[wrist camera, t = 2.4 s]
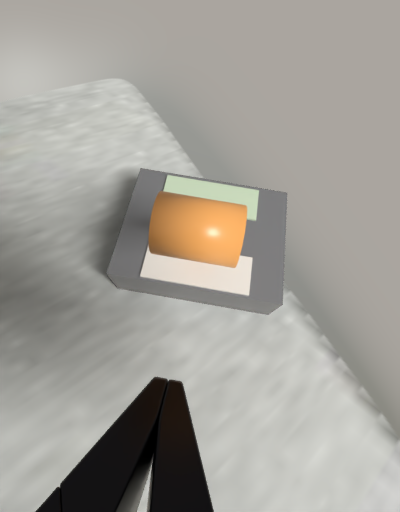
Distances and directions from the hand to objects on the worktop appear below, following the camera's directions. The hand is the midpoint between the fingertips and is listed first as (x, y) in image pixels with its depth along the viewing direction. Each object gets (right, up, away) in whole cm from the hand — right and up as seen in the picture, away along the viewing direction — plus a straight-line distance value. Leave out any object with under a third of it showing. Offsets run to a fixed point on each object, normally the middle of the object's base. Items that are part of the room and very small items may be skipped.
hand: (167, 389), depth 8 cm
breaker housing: (+1, +4, +17) cm, 17 cm away
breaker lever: (+1, +6, +13) cm, 14 cm away
